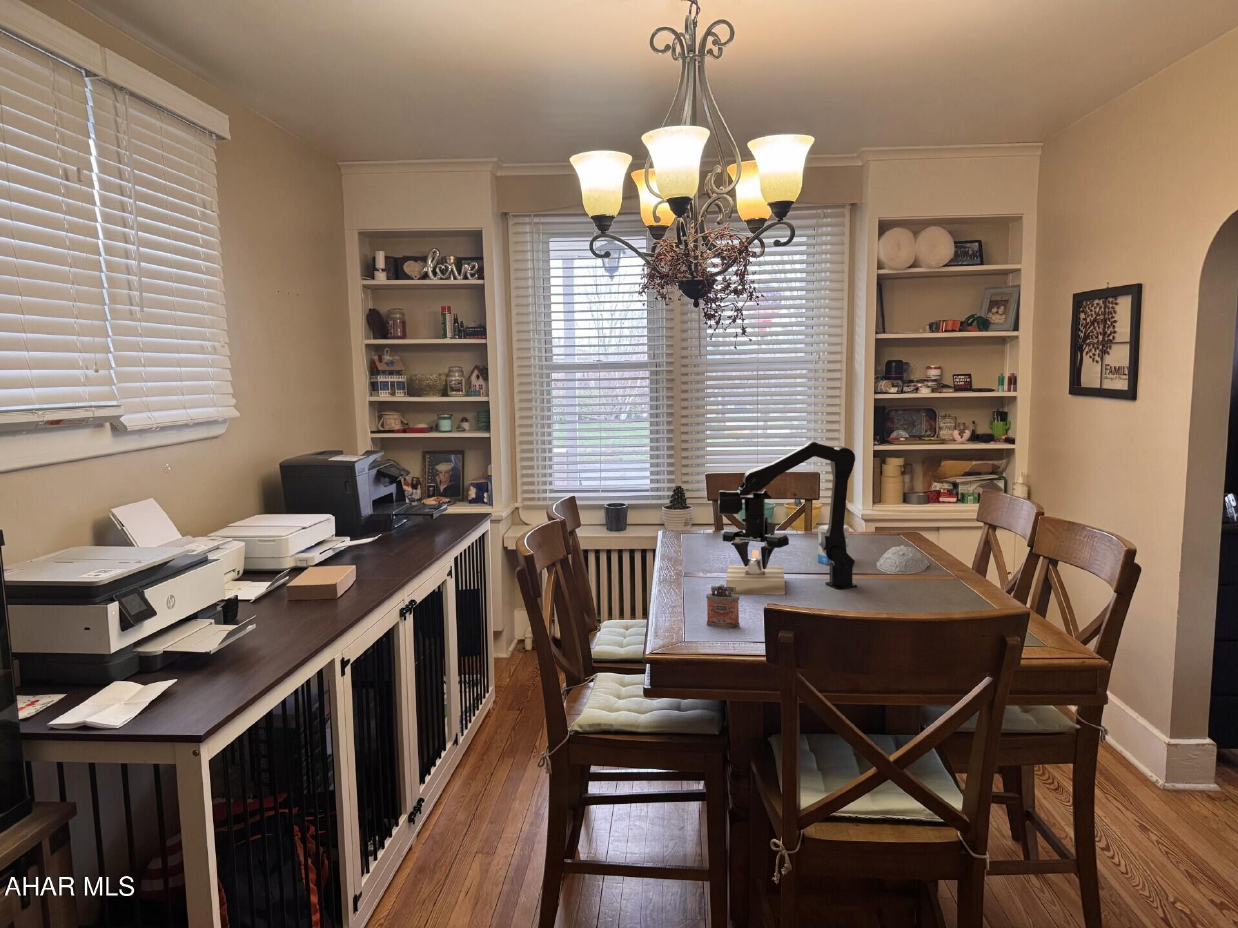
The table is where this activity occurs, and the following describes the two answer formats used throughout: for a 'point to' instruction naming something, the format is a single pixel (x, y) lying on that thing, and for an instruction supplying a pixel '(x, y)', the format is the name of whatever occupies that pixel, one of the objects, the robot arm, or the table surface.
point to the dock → (756, 580)
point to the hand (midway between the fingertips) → (755, 567)
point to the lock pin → (755, 553)
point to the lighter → (723, 607)
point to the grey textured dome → (902, 561)
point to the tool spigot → (754, 566)
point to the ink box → (821, 556)
